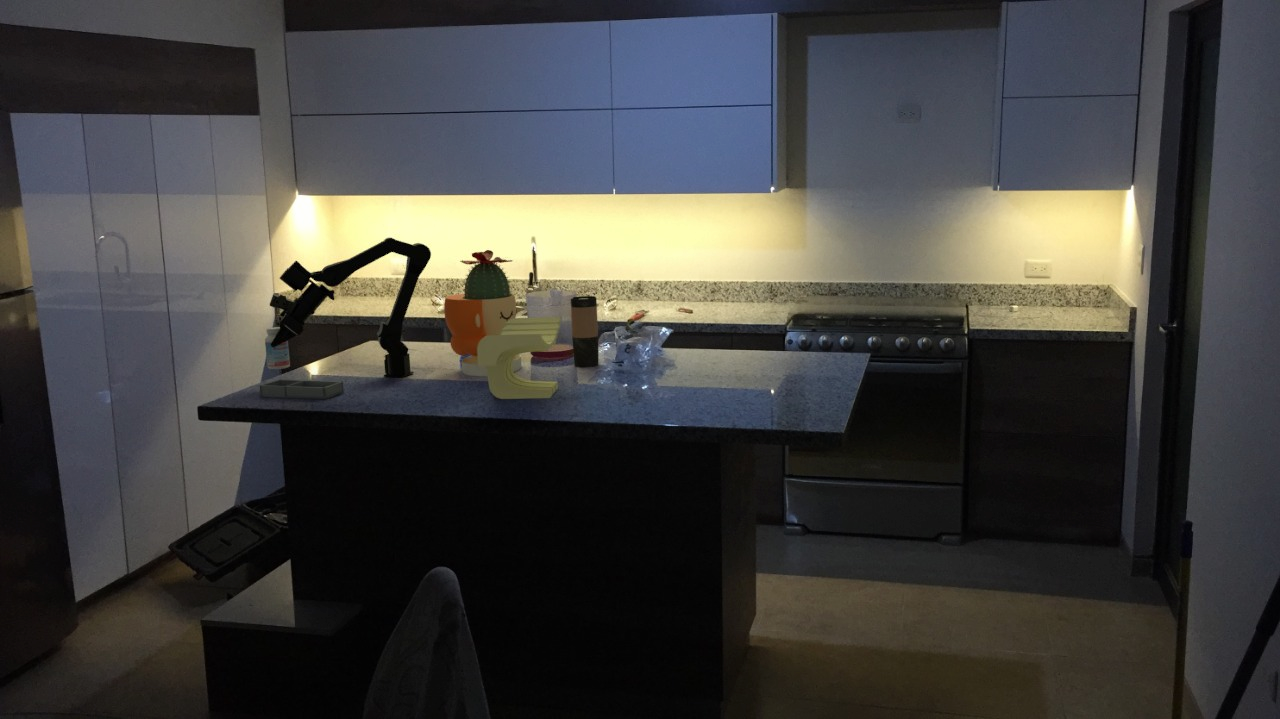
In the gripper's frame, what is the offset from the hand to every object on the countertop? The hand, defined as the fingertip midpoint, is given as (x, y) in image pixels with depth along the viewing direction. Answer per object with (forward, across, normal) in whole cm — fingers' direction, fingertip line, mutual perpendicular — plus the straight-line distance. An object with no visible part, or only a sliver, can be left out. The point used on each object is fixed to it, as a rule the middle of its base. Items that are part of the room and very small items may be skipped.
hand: (271, 344), depth 306 cm
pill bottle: (+4, 0, +6) cm, 7 cm away
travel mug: (-52, +11, +71) cm, 89 cm away
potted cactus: (-32, +3, +50) cm, 60 cm away
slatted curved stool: (-34, +43, +52) cm, 76 cm away
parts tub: (+4, +16, +13) cm, 21 cm away
